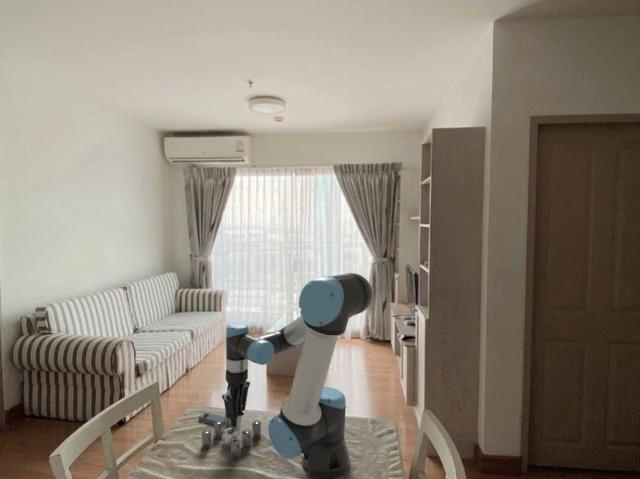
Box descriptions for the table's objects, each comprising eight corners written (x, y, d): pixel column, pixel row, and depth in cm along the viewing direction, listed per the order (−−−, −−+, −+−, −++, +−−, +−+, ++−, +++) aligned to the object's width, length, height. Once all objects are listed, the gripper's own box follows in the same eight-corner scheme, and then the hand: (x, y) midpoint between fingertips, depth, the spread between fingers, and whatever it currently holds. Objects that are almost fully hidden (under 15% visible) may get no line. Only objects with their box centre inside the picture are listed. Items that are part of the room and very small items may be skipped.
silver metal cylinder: (240, 440, 122) (240, 429, 122) (231, 449, 117) (231, 437, 117) (228, 437, 124) (228, 425, 124) (219, 445, 119) (219, 433, 119)
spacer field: (262, 435, 125) (262, 421, 125) (236, 461, 112) (236, 446, 111) (228, 424, 131) (228, 411, 131) (199, 447, 118) (199, 433, 117)
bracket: (221, 428, 130) (221, 422, 130) (198, 421, 133) (198, 416, 133) (227, 422, 133) (227, 417, 133) (205, 416, 137) (205, 411, 137)
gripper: (239, 359, 129) (238, 421, 131) (215, 373, 118) (214, 441, 119) (256, 363, 126) (255, 426, 128) (233, 378, 114) (232, 447, 116)
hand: (235, 433), depth 123 cm, fingers closed
